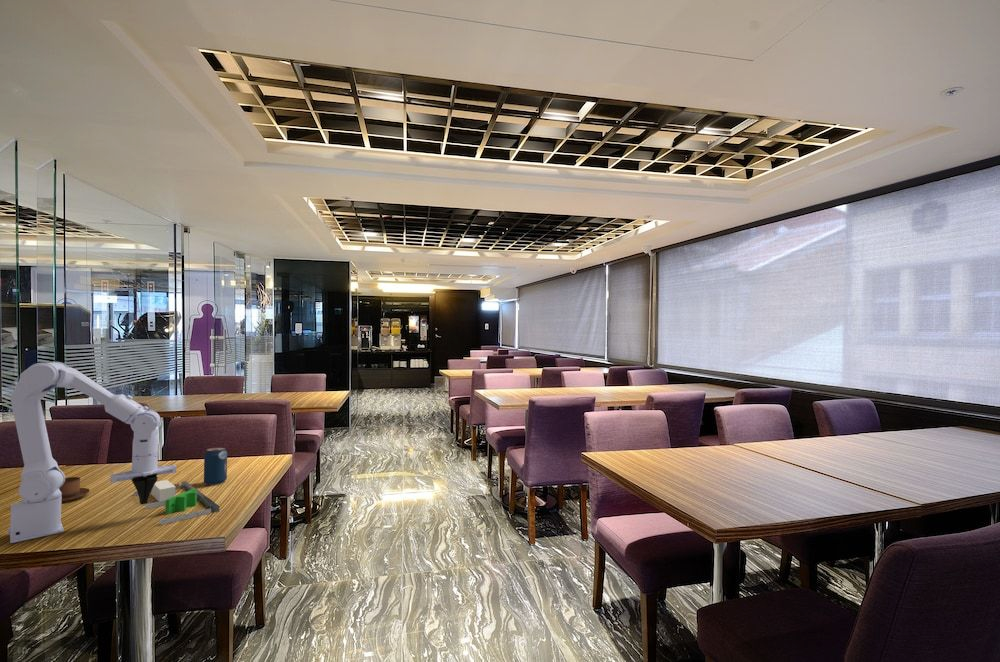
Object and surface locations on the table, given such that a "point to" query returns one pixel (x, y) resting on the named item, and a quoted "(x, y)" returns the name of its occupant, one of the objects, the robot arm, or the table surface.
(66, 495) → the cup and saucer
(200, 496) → the grey pronged frame
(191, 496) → the pipe clamp
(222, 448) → the soda can
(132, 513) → the table surface
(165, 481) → the seated block
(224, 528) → the table surface
